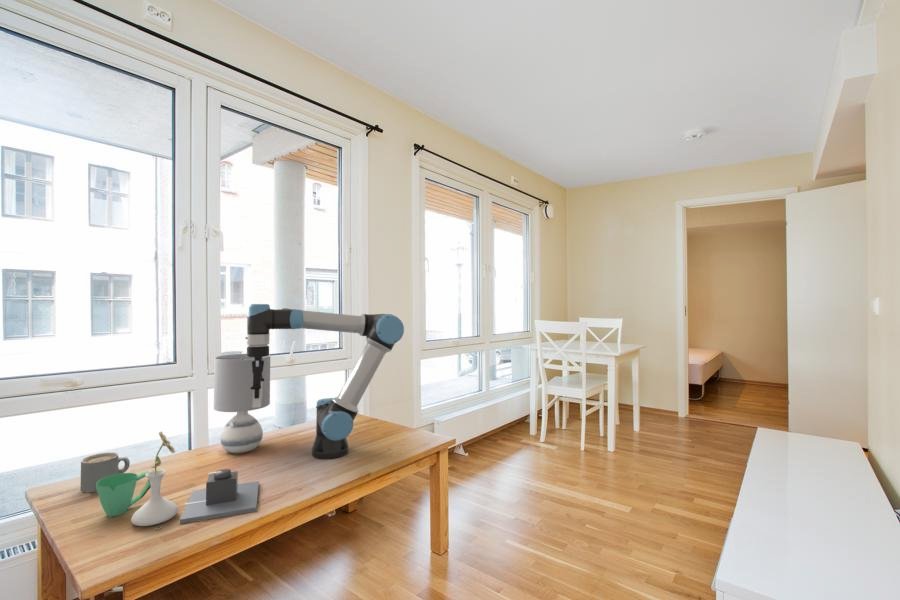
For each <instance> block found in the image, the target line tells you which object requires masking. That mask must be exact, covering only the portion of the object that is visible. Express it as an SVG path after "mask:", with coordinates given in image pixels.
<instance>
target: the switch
mask: <svg viewBox="0 0 900 600" xmlns="http://www.w3.org/2000/svg"><path fill="white" fill-rule="evenodd" d="M259 484H260V482H259V481H258V480H257V481H252V482H244V483H238V485H237V497H236V501H231V502H225V503H218V504H212V505H206V488H202V489H195V490H192V492H190V493H191V494H190V496H189V497H188V501H187V502H185V503H184V505H185V508H184V509H183V512H182V514H181V516H180V518H179V525H182V524H187V523H193V522H199V521H205V520H211V519H217V518H222V517H224V518H225V517H228V516H234V515H241V514H247V513H253V512H257V507H258V506H257V505H258V496H259V495H258V494H259V486H260V485H259Z"/></svg>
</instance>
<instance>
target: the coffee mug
mask: <svg viewBox="0 0 900 600" xmlns="http://www.w3.org/2000/svg"><path fill="white" fill-rule="evenodd" d="M121 461H123V462H124V466H123V467H122V468H119V464H120V462H121ZM130 464H131V462H130V459H129V458H128V457H127V456H123V455H122V456H119V453H118V452H108V451H107V452H101V453H95V454H91V455H89V456H86V457H84V458H82V459H80V492H81V491H82V492H81V493H83V492H86V493H85V494H91V493H90V492H94V493H98V492H97V488H96V484H97V482H98V481H99V480H101V479H103V478H106V477H109V476H112V475H116V474H122V473H127V471H128V470H129V468H130V466H131V465H130Z"/></svg>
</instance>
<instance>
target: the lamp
mask: <svg viewBox="0 0 900 600" xmlns="http://www.w3.org/2000/svg"><path fill="white" fill-rule="evenodd" d="M213 361H214V363H213V364H214V365H213V368H214V371H213V372H214V373H213V374H214V375H213V378H214V379H213V382H214V383H213V410H215V411H217V412H221V413H236V414H235V415H234V416H233V417H232V418H231V419H230V420H229V421H227V423H226V424H225V426H224V427H223V429H222V431H221V433H220V444H221V447H222V449H223V450H225V451H226V452H228V453H231V454H244V453H248V452H251V451H254V450H255V449H256V448H257V447H259V445H260V444H261V443H262V441H263V436H264V431H263V428H262V425H261V423H260V421H259V420H257V419H256V418H255V417H254V416H253V415H252V414H249V411H254V410H259V409H263V408H266V407H268V406H270V404H271V355H270V354H269V355H268V356H265V357H263V358H262V361H264V366H263V372H262V377H263V378H264V381H261V382H262V399H261V407H255V408H252V407H253V389H252V390H251V387H252V386H253V372H252V361H254V357H248V356H247V353H236V354H235V353H231V354H224V355H219V356H216V357H214V360H213Z"/></svg>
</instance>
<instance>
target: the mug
mask: <svg viewBox="0 0 900 600" xmlns="http://www.w3.org/2000/svg"><path fill="white" fill-rule="evenodd" d="M148 472H150V471H144V472H142V473H140V474H137V473H134V472H124V473H122V474H116V475H112V476H109V477H106V478H103V479H101V480H99V481H98V482H97V484H96V488H97V492H96V493H97V494H98V499H99V503H100V505H101V508H102V510H103V511H104V513H105V515H106V516H107V517H118V516H121V515H123V514H125V513H126V512H127V511H128V510H129V508H130V507H131V506H133V505H134V504H135V503H137V502H138V501H140V500H141V499H143V497H144V496H145V495H146V494H147V493H148V491H149V490H151V485H150V481H149V479H148V478H147V477H146V476H145V474H146V473H148ZM144 478H147V482H146V484H145V486H144V487H143V488H142V490H141V491H140V492H139V494H138V495H136V496H134V494H135V488H136V485H137V482H138V481H140V480H142V479H144ZM133 496H134V497H133Z"/></svg>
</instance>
